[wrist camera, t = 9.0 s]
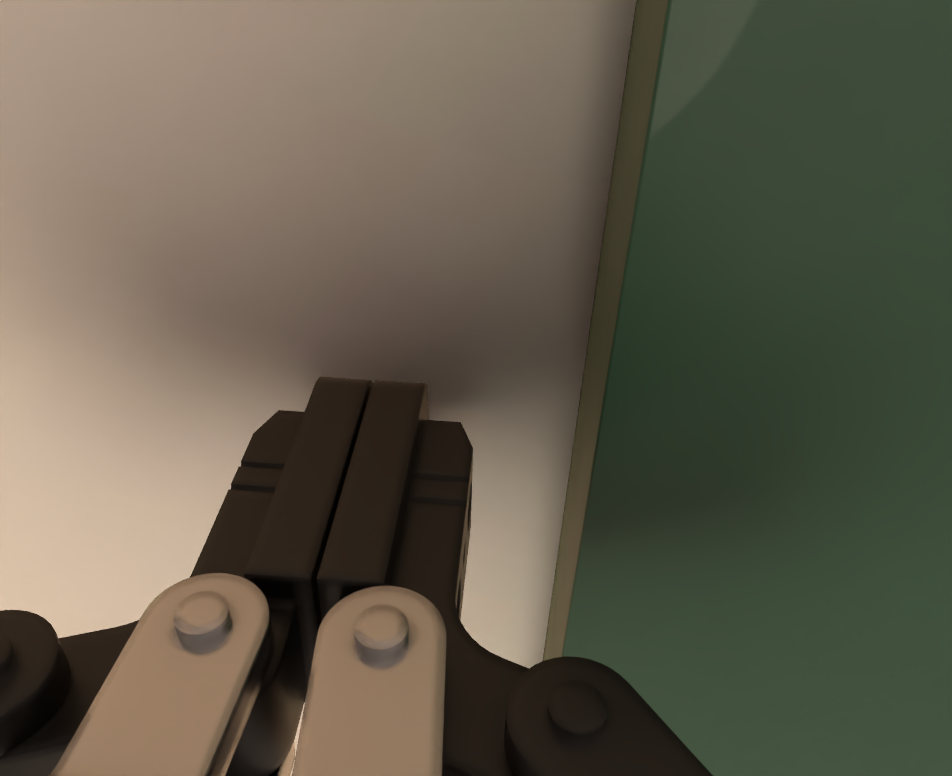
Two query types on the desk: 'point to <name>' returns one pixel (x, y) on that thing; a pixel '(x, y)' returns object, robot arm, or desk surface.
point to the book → (774, 390)
